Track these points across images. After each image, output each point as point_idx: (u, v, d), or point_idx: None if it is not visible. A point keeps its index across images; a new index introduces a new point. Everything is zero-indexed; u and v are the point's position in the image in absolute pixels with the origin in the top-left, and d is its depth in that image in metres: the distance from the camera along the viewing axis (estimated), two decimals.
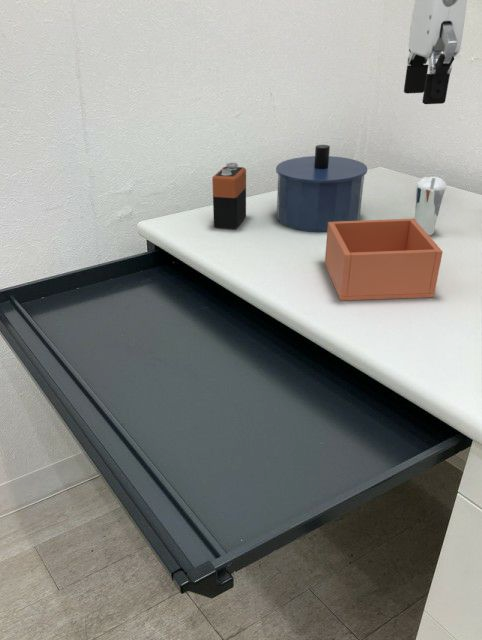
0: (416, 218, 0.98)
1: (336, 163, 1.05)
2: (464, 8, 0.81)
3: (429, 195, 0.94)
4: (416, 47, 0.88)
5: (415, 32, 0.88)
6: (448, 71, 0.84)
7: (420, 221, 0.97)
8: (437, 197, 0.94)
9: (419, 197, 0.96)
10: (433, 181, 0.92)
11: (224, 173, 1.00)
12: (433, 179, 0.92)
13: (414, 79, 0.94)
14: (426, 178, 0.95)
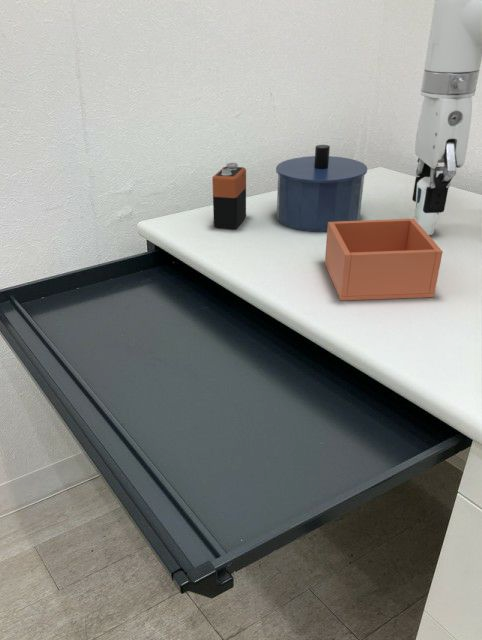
0: (416, 218, 0.98)
1: (336, 163, 1.05)
2: (468, 127, 0.86)
3: None
4: (422, 156, 0.92)
5: (421, 142, 0.92)
6: (446, 187, 0.91)
7: (420, 221, 0.97)
8: None
9: (419, 197, 0.95)
10: None
11: (224, 173, 1.00)
12: None
13: None
14: (427, 178, 0.95)
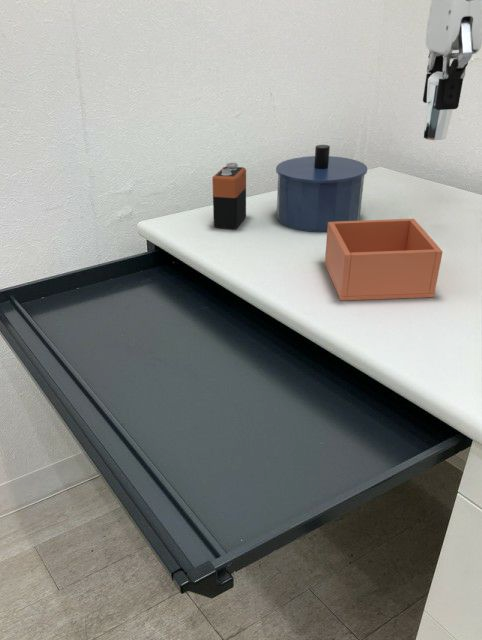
0: (427, 120, 0.89)
1: (336, 163, 1.05)
2: None
3: None
4: (434, 44, 0.84)
5: (433, 28, 0.83)
6: (460, 78, 0.83)
7: (431, 122, 0.89)
8: None
9: (430, 94, 0.87)
10: None
11: (224, 173, 1.00)
12: None
13: None
14: (439, 72, 0.86)
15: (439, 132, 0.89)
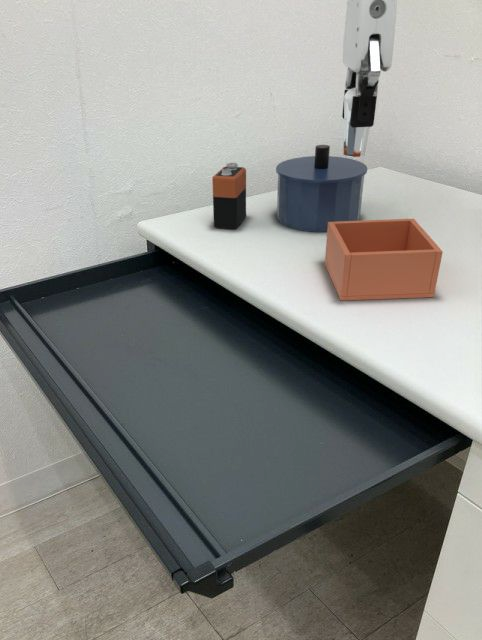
0: (345, 136, 0.87)
1: (336, 163, 1.05)
2: (393, 20, 0.75)
3: None
4: (348, 61, 0.82)
5: (346, 45, 0.82)
6: (373, 95, 0.81)
7: (349, 139, 0.87)
8: None
9: (346, 111, 0.85)
10: None
11: (224, 173, 1.00)
12: None
13: None
14: (354, 89, 0.84)
15: (357, 149, 0.87)
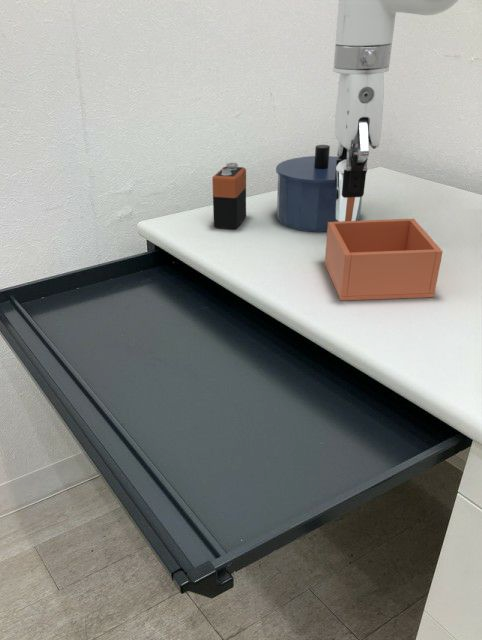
0: (337, 203, 0.93)
1: None
2: (381, 105, 0.81)
3: None
4: (339, 137, 0.87)
5: (338, 122, 0.87)
6: (363, 170, 0.86)
7: (341, 206, 0.92)
8: None
9: (338, 181, 0.91)
10: None
11: (224, 173, 1.00)
12: None
13: None
14: (346, 161, 0.90)
15: (348, 215, 0.93)
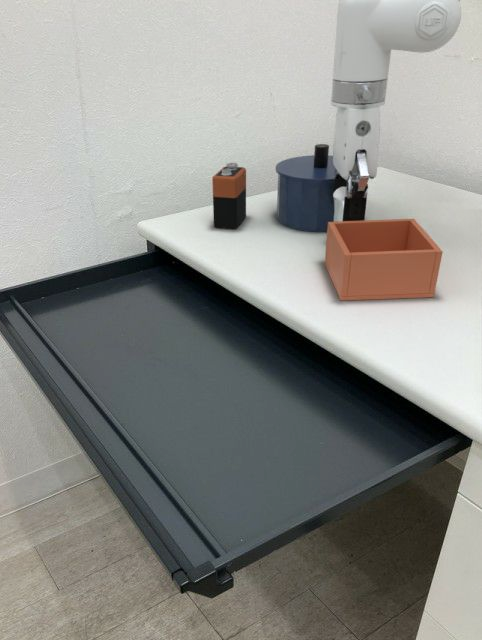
0: None
1: None
2: (377, 138, 0.83)
3: None
4: (337, 166, 0.90)
5: (336, 152, 0.90)
6: (364, 196, 0.87)
7: None
8: None
9: (335, 207, 0.93)
10: None
11: (224, 173, 1.00)
12: None
13: None
14: (342, 188, 0.93)
15: None
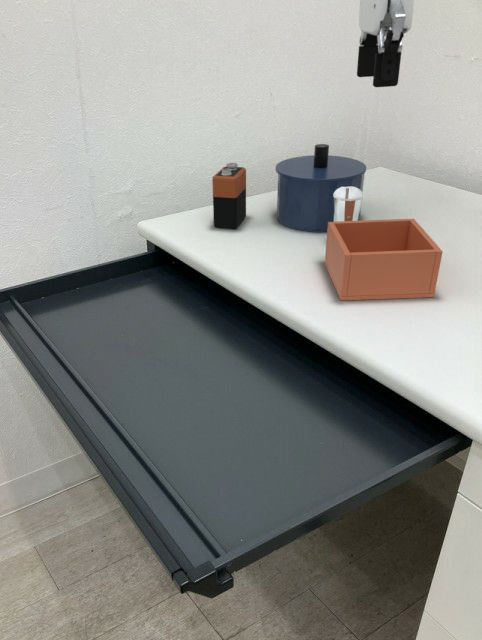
0: None
1: (335, 162, 1.05)
2: None
3: (345, 205, 0.92)
4: (365, 24, 0.79)
5: (363, 8, 0.79)
6: (398, 50, 0.76)
7: None
8: (353, 208, 0.92)
9: (335, 207, 0.93)
10: (347, 191, 0.90)
11: (224, 173, 1.00)
12: (347, 189, 0.89)
13: (367, 61, 0.86)
14: (342, 188, 0.93)
15: None
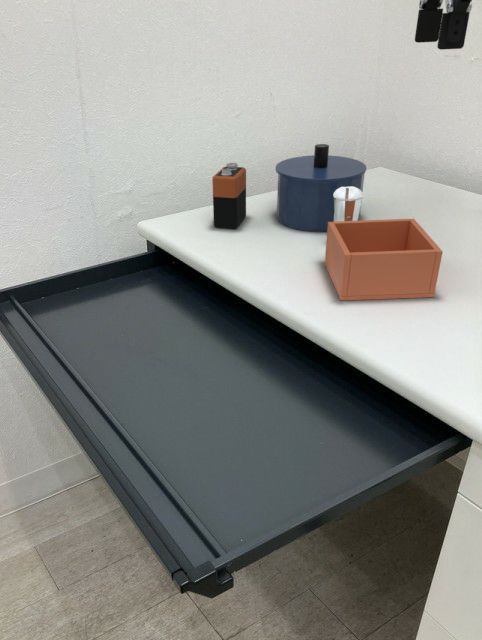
0: None
1: (335, 162, 1.05)
2: None
3: (345, 205, 0.92)
4: None
5: None
6: (467, 9, 0.73)
7: None
8: (353, 208, 0.92)
9: (335, 207, 0.93)
10: (347, 191, 0.90)
11: (224, 173, 1.00)
12: (347, 189, 0.89)
13: (427, 25, 0.83)
14: (342, 188, 0.93)
15: None
